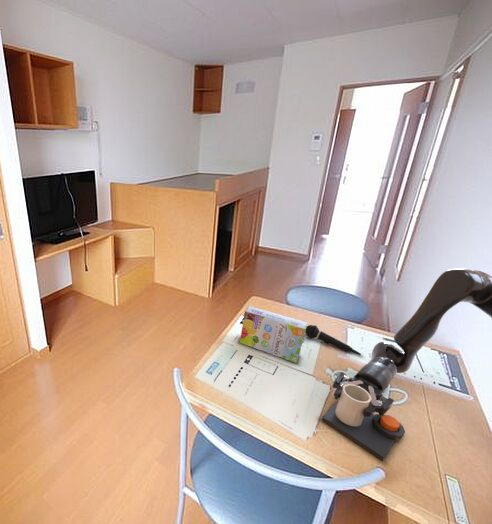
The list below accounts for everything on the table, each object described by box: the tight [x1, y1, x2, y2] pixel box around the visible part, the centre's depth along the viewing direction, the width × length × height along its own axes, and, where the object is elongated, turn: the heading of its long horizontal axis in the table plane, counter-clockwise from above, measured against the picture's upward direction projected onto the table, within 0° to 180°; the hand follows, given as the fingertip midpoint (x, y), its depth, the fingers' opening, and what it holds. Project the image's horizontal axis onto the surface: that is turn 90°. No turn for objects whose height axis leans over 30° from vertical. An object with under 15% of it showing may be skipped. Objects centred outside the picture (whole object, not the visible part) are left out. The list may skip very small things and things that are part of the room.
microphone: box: [305, 324, 362, 356], centre depth 120 cm, size 6×6×20 cm
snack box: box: [239, 305, 308, 364], centre depth 115 cm, size 21×6×15 cm, turn 56°
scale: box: [321, 400, 406, 462], centre depth 86 cm, size 16×14×3 cm
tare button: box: [380, 414, 401, 432], centre depth 84 cm, size 4×4×2 cm
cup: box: [335, 383, 371, 427], centre depth 86 cm, size 7×7×9 cm
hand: (350, 405), depth 84 cm, fingers closed on cup, 6 cm apart
